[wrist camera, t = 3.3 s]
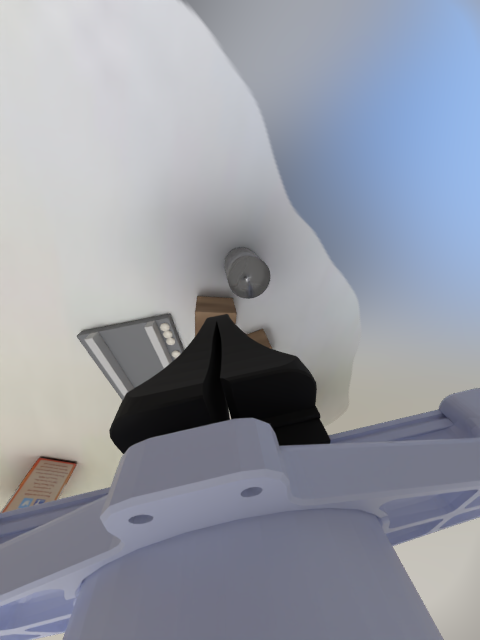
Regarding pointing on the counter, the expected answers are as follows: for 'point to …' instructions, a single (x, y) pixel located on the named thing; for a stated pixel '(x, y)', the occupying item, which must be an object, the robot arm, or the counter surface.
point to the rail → (133, 350)
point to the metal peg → (246, 273)
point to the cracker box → (41, 484)
